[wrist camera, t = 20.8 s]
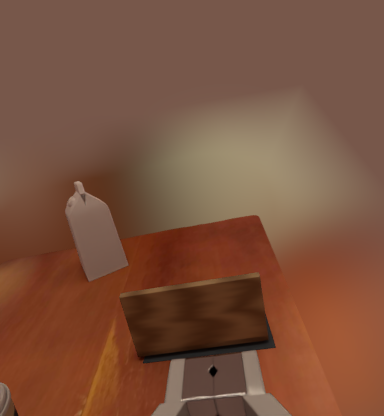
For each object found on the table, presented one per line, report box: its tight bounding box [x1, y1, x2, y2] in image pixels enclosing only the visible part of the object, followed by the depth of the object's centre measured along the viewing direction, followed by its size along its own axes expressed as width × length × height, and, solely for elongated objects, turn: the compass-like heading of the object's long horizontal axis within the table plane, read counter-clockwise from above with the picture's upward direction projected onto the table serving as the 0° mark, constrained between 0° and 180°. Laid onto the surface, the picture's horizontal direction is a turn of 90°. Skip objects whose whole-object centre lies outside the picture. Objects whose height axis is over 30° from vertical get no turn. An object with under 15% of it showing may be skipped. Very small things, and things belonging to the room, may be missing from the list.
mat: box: [143, 314, 276, 363], centre depth 55 cm, size 22×18×1 cm
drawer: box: [119, 273, 269, 357], centre depth 52 cm, size 22×14×13 cm, turn 88°
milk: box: [65, 181, 128, 282], centre depth 82 cm, size 12×12×26 cm
